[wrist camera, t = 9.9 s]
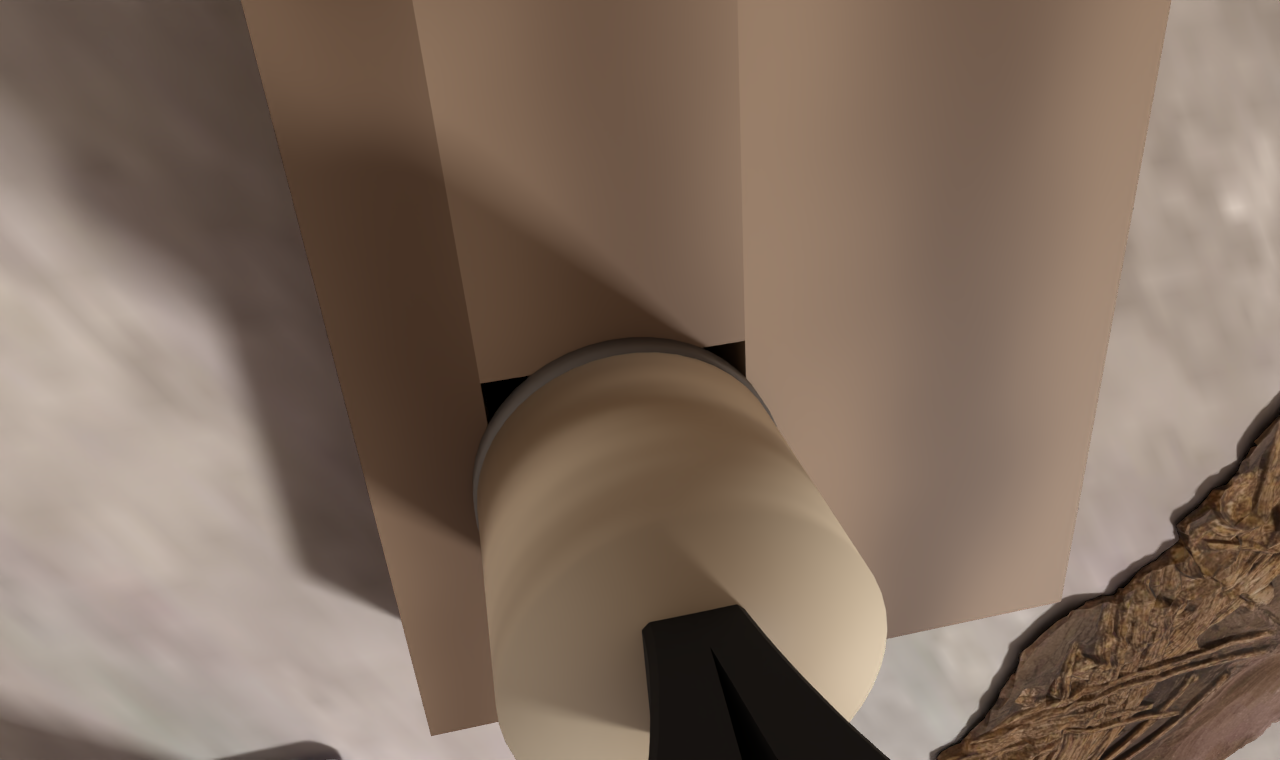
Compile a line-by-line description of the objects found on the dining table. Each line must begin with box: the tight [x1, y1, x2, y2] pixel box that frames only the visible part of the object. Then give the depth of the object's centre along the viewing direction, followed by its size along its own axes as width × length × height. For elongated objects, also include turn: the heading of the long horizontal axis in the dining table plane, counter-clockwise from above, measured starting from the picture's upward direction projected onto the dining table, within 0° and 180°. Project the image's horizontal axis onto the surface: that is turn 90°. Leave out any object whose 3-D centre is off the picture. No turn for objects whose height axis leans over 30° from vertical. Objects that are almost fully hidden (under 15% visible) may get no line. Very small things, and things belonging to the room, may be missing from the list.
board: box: [241, 0, 1171, 736], centre depth 17 cm, size 14×18×3 cm
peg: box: [473, 337, 887, 760], centre depth 16 cm, size 6×6×8 cm
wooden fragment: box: [937, 416, 1280, 760], centre depth 28 cm, size 26×11×1 cm, turn 143°
